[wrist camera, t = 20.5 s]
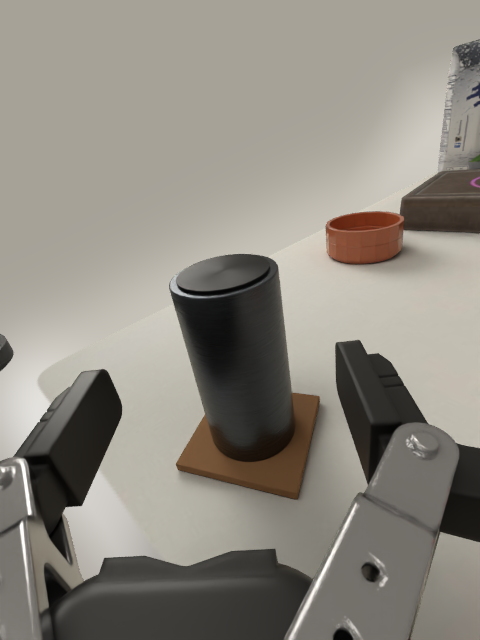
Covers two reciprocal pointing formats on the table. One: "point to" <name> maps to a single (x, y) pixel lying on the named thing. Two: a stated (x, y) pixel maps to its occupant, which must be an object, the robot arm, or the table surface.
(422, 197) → the book
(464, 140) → the juice carton
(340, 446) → the table surface
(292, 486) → the cork mat
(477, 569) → the table surface
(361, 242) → the terracotta bowl
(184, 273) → the black metal canister
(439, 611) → the table surface
